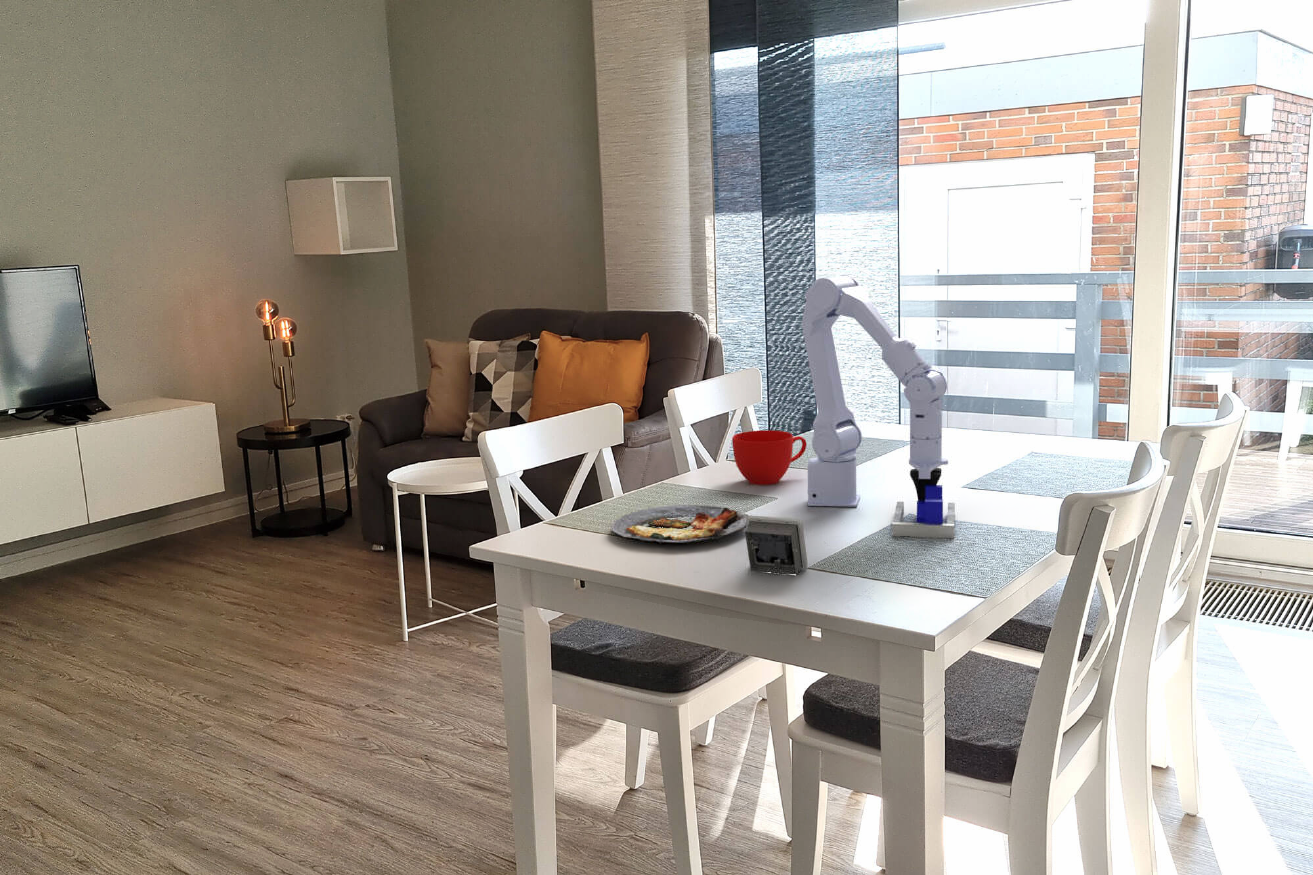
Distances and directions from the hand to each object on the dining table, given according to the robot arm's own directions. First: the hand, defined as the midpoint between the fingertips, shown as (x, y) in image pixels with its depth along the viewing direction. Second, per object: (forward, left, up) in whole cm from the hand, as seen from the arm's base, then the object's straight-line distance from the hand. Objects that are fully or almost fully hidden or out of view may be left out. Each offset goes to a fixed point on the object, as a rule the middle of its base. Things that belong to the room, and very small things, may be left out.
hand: (925, 507), depth 202 cm
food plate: (-43, -16, -2) cm, 46 cm away
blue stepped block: (+1, -8, -1) cm, 8 cm away
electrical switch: (-22, -37, -1) cm, 43 cm away
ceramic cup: (-33, +24, -1) cm, 41 cm away
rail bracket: (0, -7, -1) cm, 7 cm away
